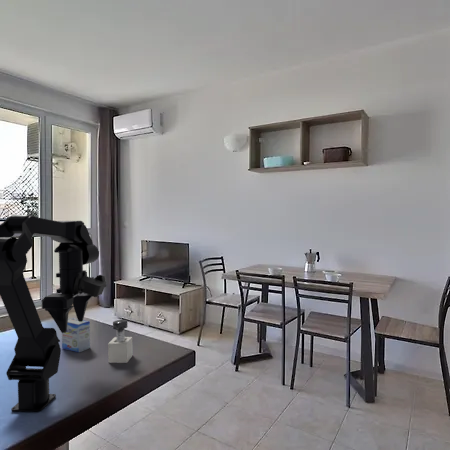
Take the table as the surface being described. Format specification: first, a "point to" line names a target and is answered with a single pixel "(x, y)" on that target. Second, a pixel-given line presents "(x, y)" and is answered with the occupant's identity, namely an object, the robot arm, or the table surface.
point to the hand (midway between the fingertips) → (72, 326)
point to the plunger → (120, 329)
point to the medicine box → (76, 336)
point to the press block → (120, 350)
